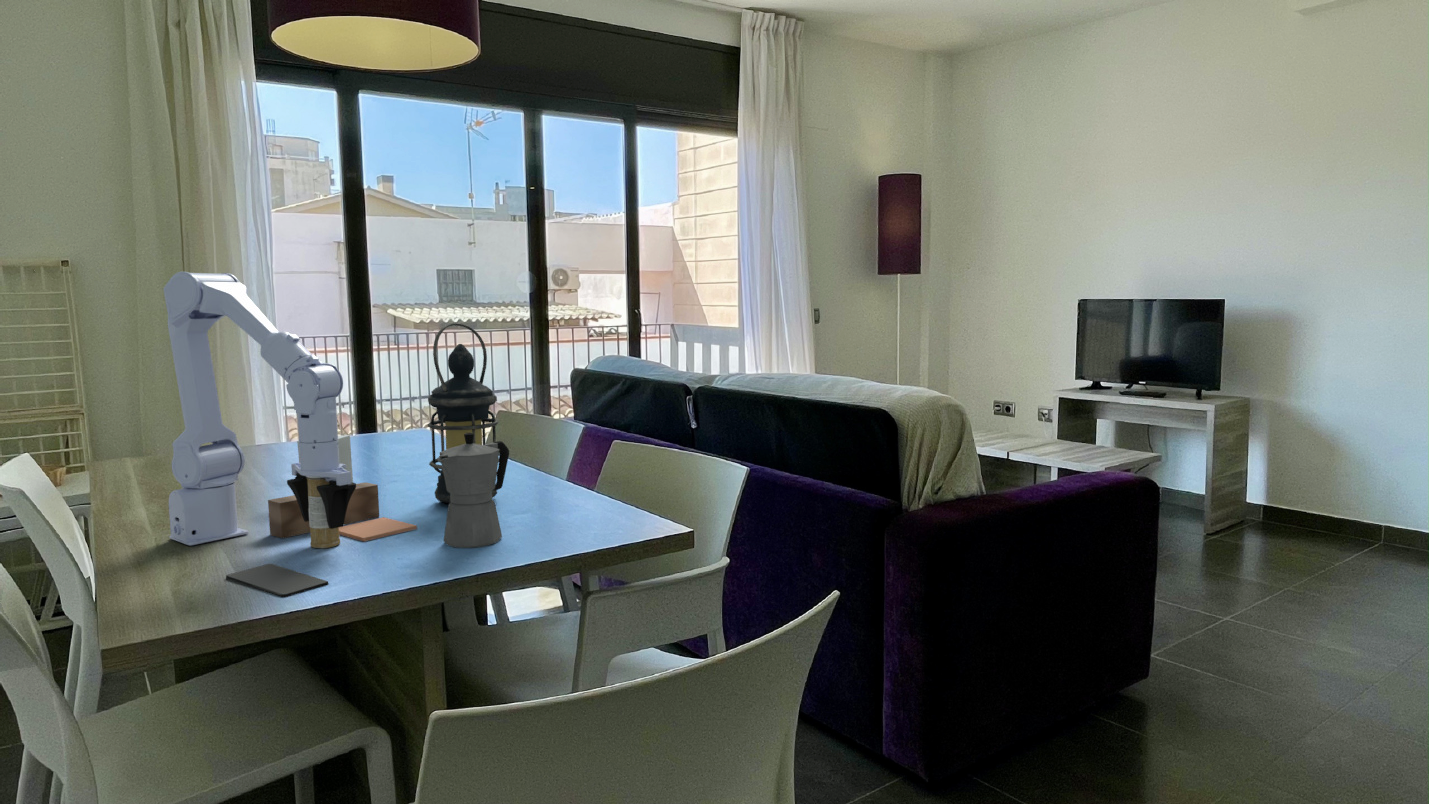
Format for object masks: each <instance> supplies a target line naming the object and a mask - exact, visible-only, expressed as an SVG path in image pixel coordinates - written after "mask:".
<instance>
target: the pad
mask: <svg viewBox="0 0 1429 804" xmlns="http://www.w3.org/2000/svg"><path fill="white" fill-rule="evenodd" d="M417 529H418V525H417V524H414V523H413V524H411V523H409V522H408V523H407V522H405V521H400V520H396V519H393V518H390V517H389V518H388V517H384V516H382V517H377V518H373V519H368V520H364V521H359V522H355V523H350V524H346V525H343V527H339V536H343V537H348V538H349V539H353V540H358V541H361V542H368V541H371V540H376V539H380V538H385V537H388V536H393V535H396V534H397V535H398V534H402V533H405V532H409V531H413V530H417Z"/></svg>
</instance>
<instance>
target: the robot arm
mask: <svg viewBox="0 0 1429 804" xmlns="http://www.w3.org/2000/svg"><path fill="white" fill-rule="evenodd" d="M163 295H164V300H165V305H166V306H165V307H166V312H167V329H168V334H169V339H170V340H169V341H170V346H171V353H172V357H173V366H174V370H175V376H176V383H177V388H178V393H179V394H178V395H179V400H180V407H181V411H182V418H183V423H184V430H183V432H182V433H180V435H179V436H178V437H177V438H176V439H175V440H174V441H173V442H172V444H171V445H172V451H173V454H172V460H171V471H172V475H173V476H174V478H175V480H176V481H177V482H178V483H179V484H180V485H181V488H179V489H175V490H172V491H171V492H170V493H169V497H168V517H169V525H170V526H169V527H170V529H169V530H170V535H169V536H168V537H169V539H171V540H173V541H176V542H178V543H182V544H184V545H187V546H195V545H196V546H197V545H199V544H205V543H210V542H215V541H219V540H223V539H228V538H229V539H230V538H234V537H238V536H244V535H247V534H249V530H247V529H243V528H240V527H238V525H239V524H238V512H237V511H238V510H237V497H236V483H235V482H236V481H238V480H239V476H238V475H239V474H241V473H242V471H243V469H244V467H245V455H244V451H243V449H242V448H241V446H240V445H239V443H238V438H237V434H236V433H235V431H233V430H232V429H230V428H229V427H227V426H226V425H225V424H223V418H222V414H221V407H220V401H219V396H218V388H217V383H216V377H215V372H214V364H213V359H212V353H211V347H210V346H211V345H210V341H209V336H208V335H209V331H210V329H211V328H212V327H213V326H214V325H215V323H217V322H219V321H220V320H221V319H223V318H224V317H225V316H226V317H227V318H228V319H230V320H231V321H232V322H233V323H234V324H235V325H236V326H238V327H239V328H240V329H241V330H242V331H244V332H245V334H247V335H249V337H250V338H252V340H254V341H255V342H256V343H258V345H260V351H259V352H260V356H261V358H262V359H263V360H264V361H265V362H266V363H267V364H268V365H269V366H270V367H271V368H272V369H273V370H274V371H275V372H276V373H277V374H278V375H279V376H280V377H281V378H282V379H283V380H285V381H286V383H287V384H286V385H285V386H286V390H287V394H288V396H289V397H290V398H291V400H292V401H293V409H294V411H295V413H296V414H297V415H296V416H297V427H298V429H297V430H298V431H297V432H298V441H299V449H300V463H299V462H295V463H291V465H290V466H291V467H290V468H291V475H292V476H294V478H291V479H288V480H287V481H286V483H287V486H288V487H289V488H290V490H291V492H292V494H293V495H295V497H296V499H297V502H298V504H299V507H300V510H301V514H302V517H303V519H304V521H305V522H308V521H309V502H308V482H307V481H308V480H307V478H308V477H306V476H315V477H322V478H325V479H326V481H328V482H329V484H326V485H320V486H317V490H318V492H319V494H320V495H321V498H322V500H323V503H324V507H325V511H326V518H327V523H328V526H329V528H330V529H333V528H338V527H343V526H345V525H344V521H345V516H346V511H347V507H348V503H349V501H350V498H351V496H352V494H353V492H354V490H355V489H356V484H357V482H354V481H353V482H351V472H349V471H346V470H345V469H346V464H339V447H338V436H339V430H338V413H337V412H338V411H337V397H339V396H340V394H342V391H343V388H344V379H343V375H342V374H341V372H340V370H339V369H338V368H337V366H336V365H335V364H333V363H329V362H328V363H327V362H326V363H325V362H323V361H322V360H320V359H319V358H318V356H316V355H314V354H312V352H310V350H308V349H307V347H306V346H304V345H303V344H302V343H301V342H300V339H301V338H300V337H299V336H298V335H297V334H296V333H291V332H289V331H279V330H278V329H277V328H276V327H275V325H274V324H273V323H272V322H271V321H270V320H269V318H268V317H266V315H265V314H264V313H263V312H262V311H261V310H260V308H259V307H258V306H257V305H256V304H255V302H254V301H253V300H252V299H251V298H250V297H249V296H248V289H247V286H246V285H245V284H243V283H242V282H241V281H240V280H239V279H238V278H237V276H235V275H234V274H232V273H228V272H223V273H222V272H221V273H212V272H211V273H208V272H207V273H205V272H188V271H178V272H176V273H174V274H173V275H172V276H171V278H170V279H169V280H168V281H167V283H166V284H165V286H164V287H163ZM207 443H211V444H207ZM205 444H206V445H205Z"/></svg>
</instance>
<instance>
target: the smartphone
mask: <svg viewBox="0 0 1429 804" xmlns="http://www.w3.org/2000/svg"><path fill="white" fill-rule="evenodd" d="M225 579H226V580H227V581H230V582H233V583H236V584H239V585H242V586H245V587H248V588H252V589H254V590H258V591H261V592H264V593H267V594H271V595H273V596H276V597H280V598H288V597H292V596H295V595H298V594H301V593H305V592H307V591H312V590H315V589H318V588H319V589H320V588H322V587H326V586H328V585H329V581H328V580H325V579H321V578H319V577H315V576H312V575H309V574H306V573H303V572H299V571H296V570H293V569H290V568H287V567H284V566H280V565H277V564H274V563H265V564H263V565H258V566H254V567H251V568H248V569H247V568H246V569H244V570H243V569H242V570H239V571H236V572H235V571H234V572H232V573H228V574H226V576H225Z"/></svg>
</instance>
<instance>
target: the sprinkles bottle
mask: <svg viewBox="0 0 1429 804" xmlns="http://www.w3.org/2000/svg"><path fill="white" fill-rule="evenodd" d="M306 477H308V478H307V480H308V481H307V482H308V502H309V525H310V531H311V532H309V534H310V547H311V548H315V549H329V548H333V547H336V546H338V545H340V543H341V539H340V535H339V527H338V528H333V529H330V528H329V526H328V523H327V518H326V511H325V507H324V503H323V500H322V498H321V495H320V494H319V492H318V490H317V486H320V485H326V484H329V482H328V481H326V479H325V478H322V477H315V476H306Z"/></svg>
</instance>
